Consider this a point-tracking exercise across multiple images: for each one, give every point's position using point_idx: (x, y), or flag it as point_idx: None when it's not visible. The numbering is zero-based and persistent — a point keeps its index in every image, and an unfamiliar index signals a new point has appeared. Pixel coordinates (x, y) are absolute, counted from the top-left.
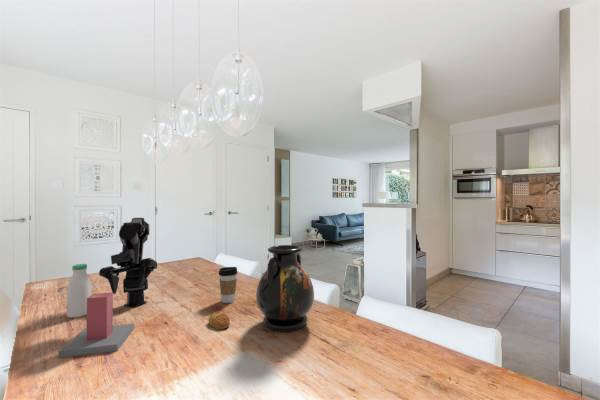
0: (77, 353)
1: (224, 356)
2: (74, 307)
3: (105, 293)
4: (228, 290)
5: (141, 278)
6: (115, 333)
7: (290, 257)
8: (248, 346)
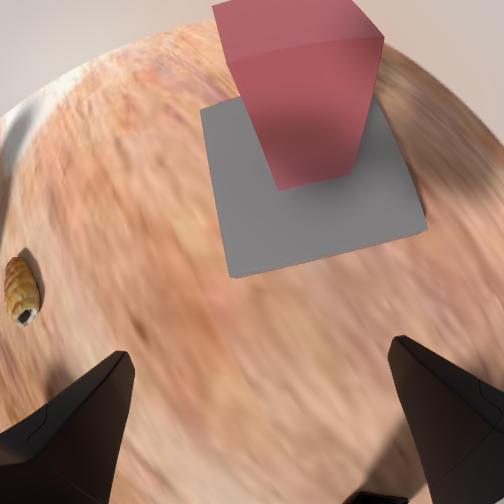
0: None
1: (27, 153)
2: None
3: (278, 37)
4: None
5: (57, 400)
6: (254, 176)
7: None
8: (4, 190)
